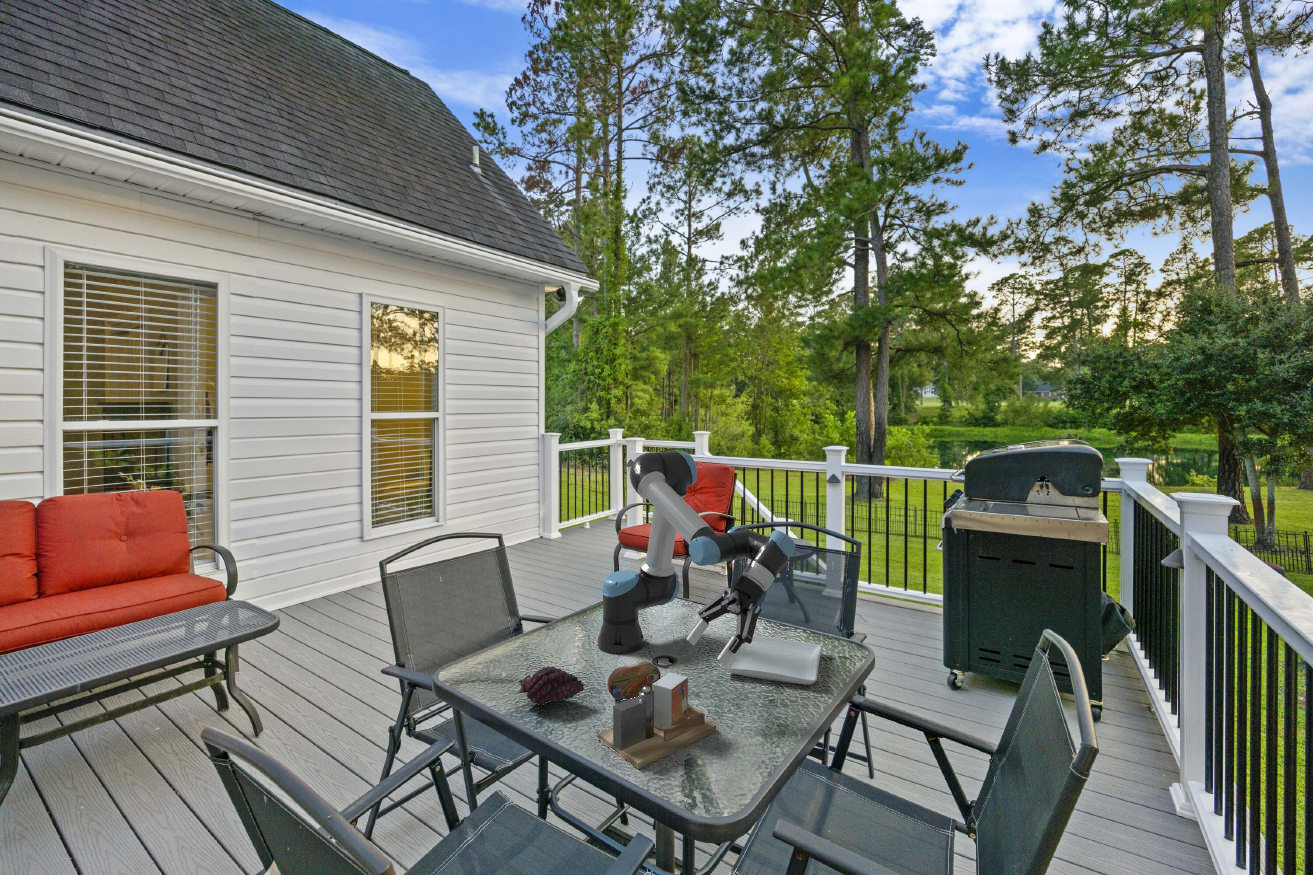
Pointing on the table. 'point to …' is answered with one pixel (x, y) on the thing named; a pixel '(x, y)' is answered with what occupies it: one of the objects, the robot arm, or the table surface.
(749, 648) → the square plate
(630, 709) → the hinge leaf
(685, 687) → the small box
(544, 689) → the pine cone
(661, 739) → the tan wooden flat tray
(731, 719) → the table surface
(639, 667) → the tin
